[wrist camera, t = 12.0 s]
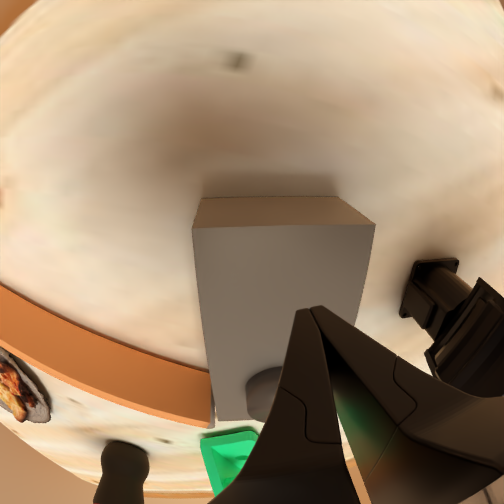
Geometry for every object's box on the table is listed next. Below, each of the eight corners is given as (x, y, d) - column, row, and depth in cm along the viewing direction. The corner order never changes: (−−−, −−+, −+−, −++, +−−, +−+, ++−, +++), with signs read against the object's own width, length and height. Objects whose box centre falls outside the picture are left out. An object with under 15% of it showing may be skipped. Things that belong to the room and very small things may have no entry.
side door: (-7, 280, 20) (-37, 312, 14) (216, 375, 27) (216, 424, 21) (-6, 293, 20) (-33, 325, 15) (210, 384, 27) (210, 432, 22)
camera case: (338, 196, 20) (393, 238, 13) (312, 366, 28) (332, 427, 21) (201, 198, 19) (186, 244, 12) (217, 373, 27) (218, 439, 20)
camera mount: (275, 451, 38) (284, 502, 28) (233, 459, 38) (237, 509, 29) (251, 423, 33) (259, 489, 23) (200, 432, 33) (200, 495, 24)
